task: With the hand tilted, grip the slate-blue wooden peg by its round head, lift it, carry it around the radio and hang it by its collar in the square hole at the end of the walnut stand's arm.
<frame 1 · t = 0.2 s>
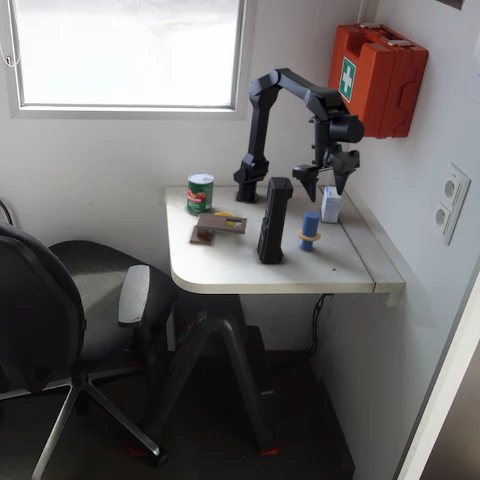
hand: (326, 198, 144), 15 cm above the table, tool pointing down, fingers open, 9 cm apart
stand: (231, 239, 155), on the table
medicine box: (328, 217, 168), on the table
canned tomato: (199, 210, 171), on the table
peg: (306, 248, 152), on the table
portable radio: (268, 257, 148), on the table
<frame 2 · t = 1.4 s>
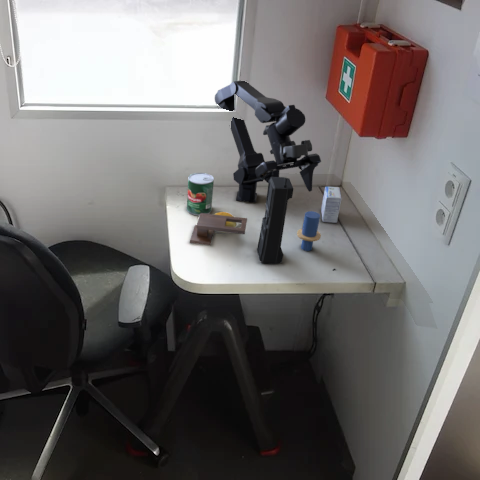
hand: (296, 193, 151), 13 cm above the table, tool tilted 45°, fingers open, 9 cm apart
nothing on the table moved.
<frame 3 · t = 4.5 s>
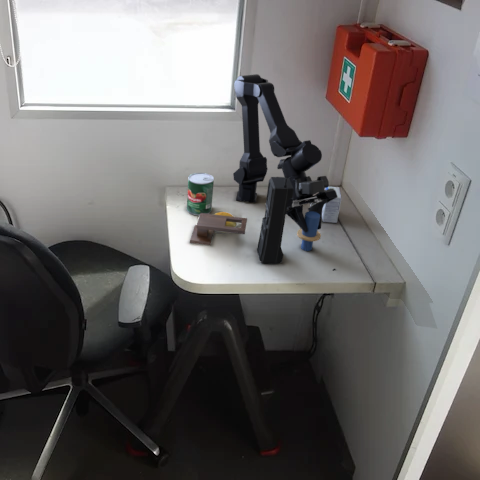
hand: (313, 230, 147), 7 cm above the table, tool tilted 45°, fingers closed on peg, 4 cm apart
peg: (306, 248, 152), on the table, touching gripper
everything else where it was.
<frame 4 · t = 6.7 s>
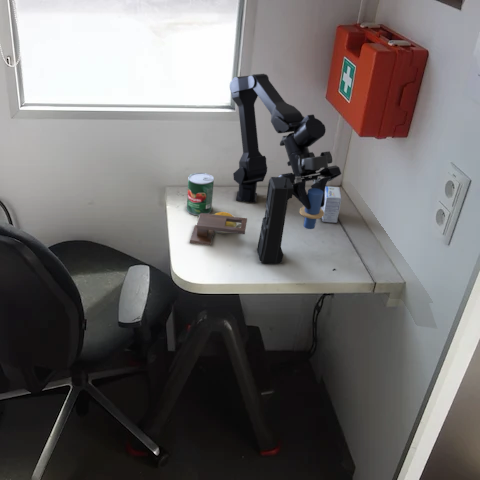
hand: (316, 207, 144), 14 cm above the table, tool tilted 45°, fingers closed on peg, 4 cm apart
peg: (309, 226, 148), point 7 cm above the table, touching gripper
everything else where it was.
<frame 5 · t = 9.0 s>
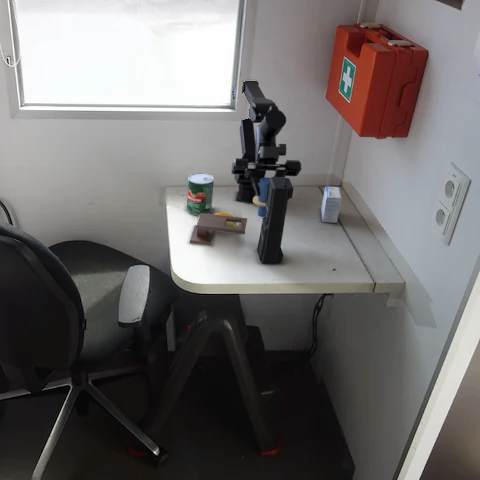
hand: (265, 196, 149), 13 cm above the table, tool tilted 45°, fingers closed on peg, 4 cm apart
peg: (262, 214, 154), point 7 cm above the table, touching gripper
everything else where it was.
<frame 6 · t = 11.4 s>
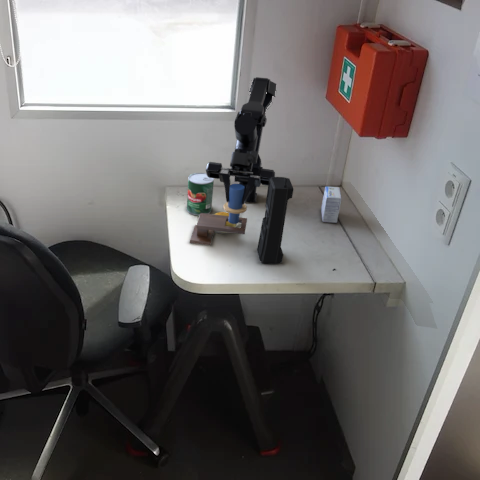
hand: (234, 202, 148), 13 cm above the table, tool tilted 45°, fingers closed on peg, 4 cm apart
peg: (233, 221, 152), point 6 cm above the table, touching gripper
everything else where it was.
when the fingers open (8 cm above the table, at t = 13.3 s): peg stays where it is, resting on stand.
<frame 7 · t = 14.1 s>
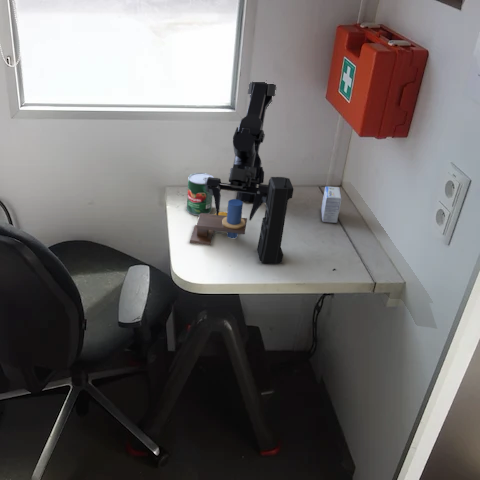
hand: (233, 217, 150), 8 cm above the table, tool tilted 45°, fingers open, 9 cm apart
peg: (232, 235, 154), point 1 cm above the table, touching stand
everything else where it was.
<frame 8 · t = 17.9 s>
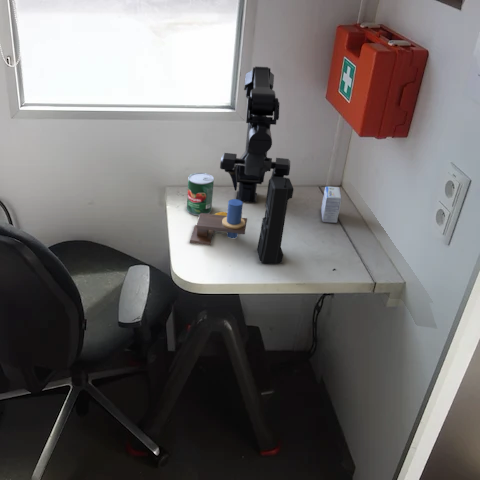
hand: (251, 191, 153), 13 cm above the table, tool pointing down, fingers open, 9 cm apart
nothing on the table moved.
at the end: peg 0.0 cm off-centre on the stand, point 1.4 cm above the stand's base; peg touching stand; peg tilted 0° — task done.
